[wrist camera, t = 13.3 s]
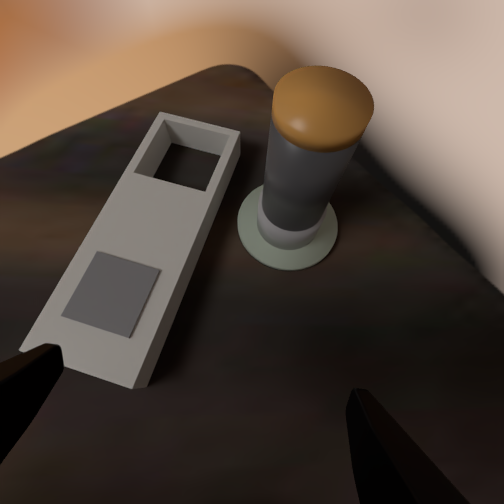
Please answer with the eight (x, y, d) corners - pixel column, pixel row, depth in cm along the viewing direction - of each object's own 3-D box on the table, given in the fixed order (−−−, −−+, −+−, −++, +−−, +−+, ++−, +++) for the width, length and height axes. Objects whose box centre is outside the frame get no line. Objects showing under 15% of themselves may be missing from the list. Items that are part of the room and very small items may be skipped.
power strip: (240, 154, 29) (240, 130, 26) (146, 387, 21) (130, 389, 18) (167, 135, 30) (159, 109, 27) (47, 353, 21) (16, 350, 19)
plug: (323, 205, 27) (384, 76, 15) (310, 257, 24) (371, 154, 13) (266, 189, 27) (283, 53, 16) (249, 240, 25) (254, 124, 13)
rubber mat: (343, 197, 28) (345, 194, 27) (325, 283, 24) (327, 281, 24) (253, 174, 28) (253, 170, 28) (224, 254, 25) (223, 251, 24)
